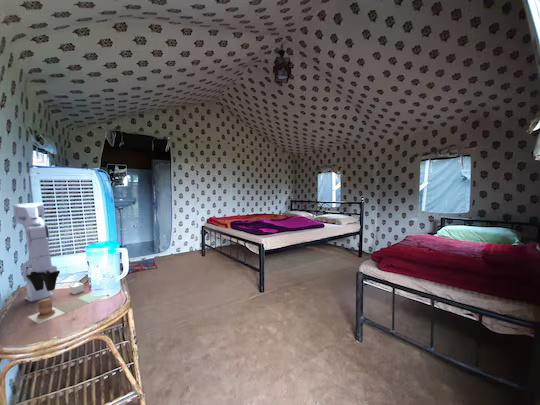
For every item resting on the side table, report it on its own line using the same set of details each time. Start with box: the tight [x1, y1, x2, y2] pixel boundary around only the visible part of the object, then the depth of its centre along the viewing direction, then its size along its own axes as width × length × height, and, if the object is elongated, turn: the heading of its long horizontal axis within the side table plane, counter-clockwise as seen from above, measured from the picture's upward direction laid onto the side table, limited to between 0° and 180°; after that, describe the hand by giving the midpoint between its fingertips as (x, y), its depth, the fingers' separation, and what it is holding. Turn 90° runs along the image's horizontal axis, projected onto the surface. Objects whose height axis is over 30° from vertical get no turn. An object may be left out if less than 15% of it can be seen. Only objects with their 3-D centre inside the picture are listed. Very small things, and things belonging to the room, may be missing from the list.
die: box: [69, 282, 85, 295], centre depth 118 cm, size 4×4×4 cm
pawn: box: [37, 297, 55, 319], centre depth 99 cm, size 5×5×6 cm
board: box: [27, 292, 110, 325], centre depth 106 cm, size 10×25×1 cm, turn 152°
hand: (45, 290), depth 98 cm, fingers open, 7 cm apart
